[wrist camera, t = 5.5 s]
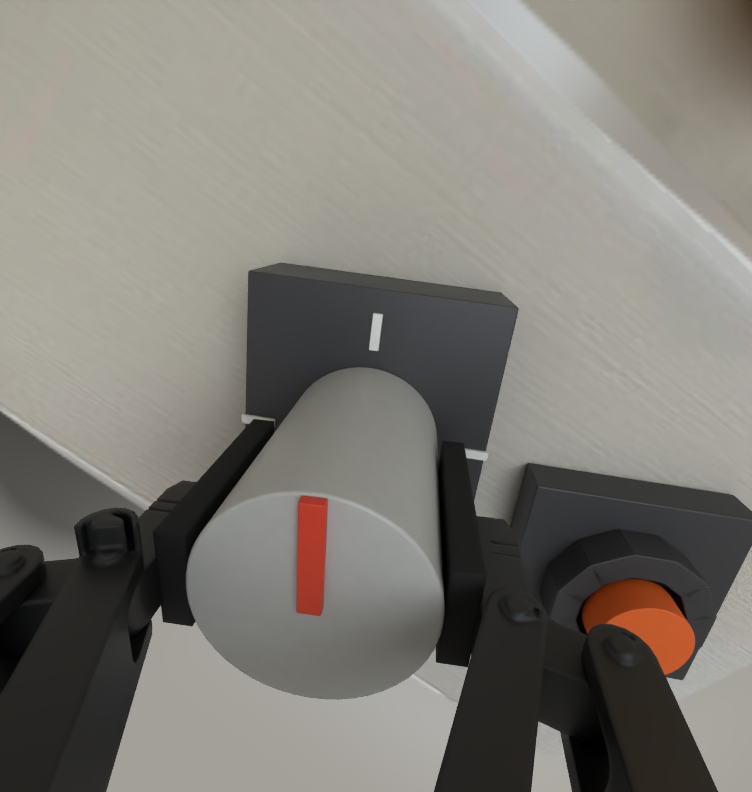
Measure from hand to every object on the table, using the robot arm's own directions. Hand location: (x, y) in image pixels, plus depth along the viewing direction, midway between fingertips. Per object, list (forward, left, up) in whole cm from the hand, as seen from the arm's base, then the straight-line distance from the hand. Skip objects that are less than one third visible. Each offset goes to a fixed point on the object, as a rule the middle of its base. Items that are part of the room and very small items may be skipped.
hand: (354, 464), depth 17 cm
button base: (-7, -13, -6) cm, 16 cm away
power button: (-7, -13, -3) cm, 15 cm away
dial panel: (0, 0, -6) cm, 6 cm away
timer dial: (0, 0, -2) cm, 2 cm away
